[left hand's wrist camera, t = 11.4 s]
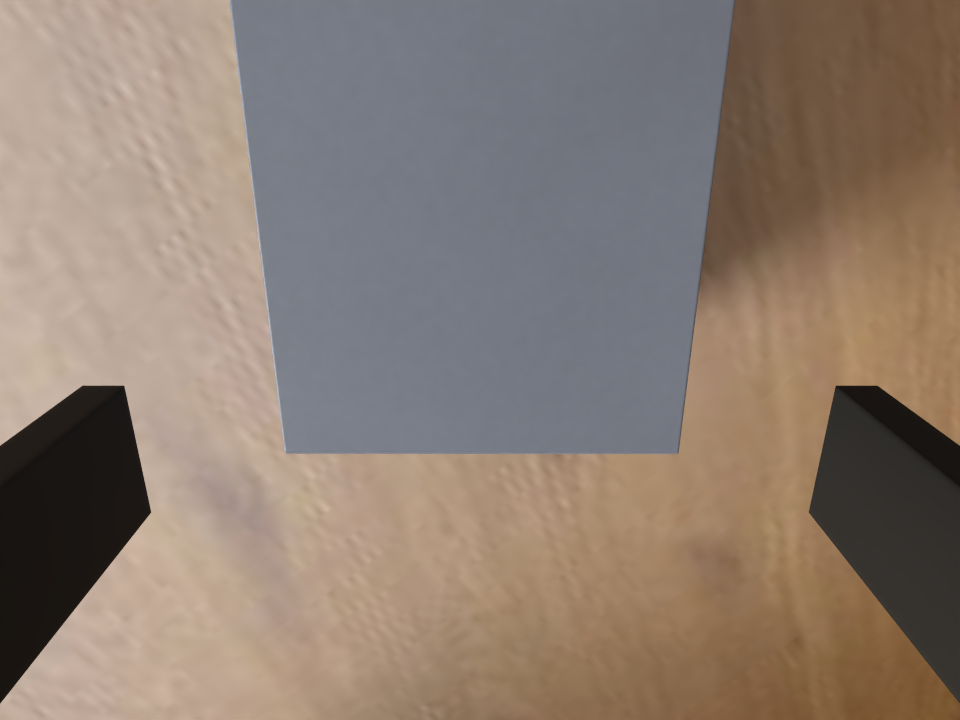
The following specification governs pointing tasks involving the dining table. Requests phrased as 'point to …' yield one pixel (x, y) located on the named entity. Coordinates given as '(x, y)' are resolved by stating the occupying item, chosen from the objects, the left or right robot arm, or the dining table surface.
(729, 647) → the dining table surface
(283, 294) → the cabinet
